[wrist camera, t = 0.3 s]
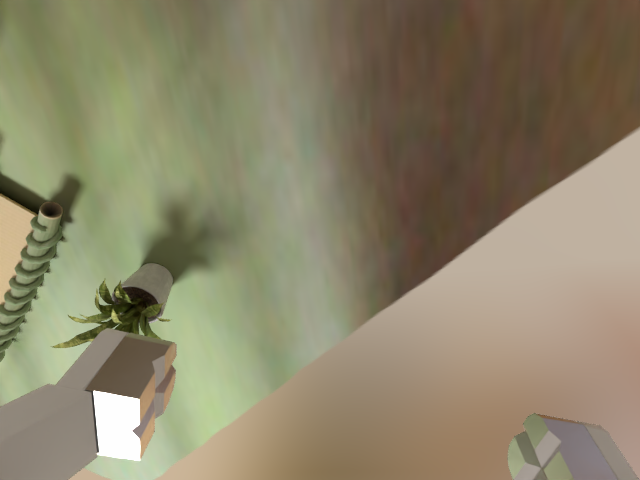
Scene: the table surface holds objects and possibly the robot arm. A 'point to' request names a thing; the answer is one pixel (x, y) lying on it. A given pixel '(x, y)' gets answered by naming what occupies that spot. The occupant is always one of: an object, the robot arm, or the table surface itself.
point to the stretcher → (23, 259)
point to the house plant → (129, 304)
